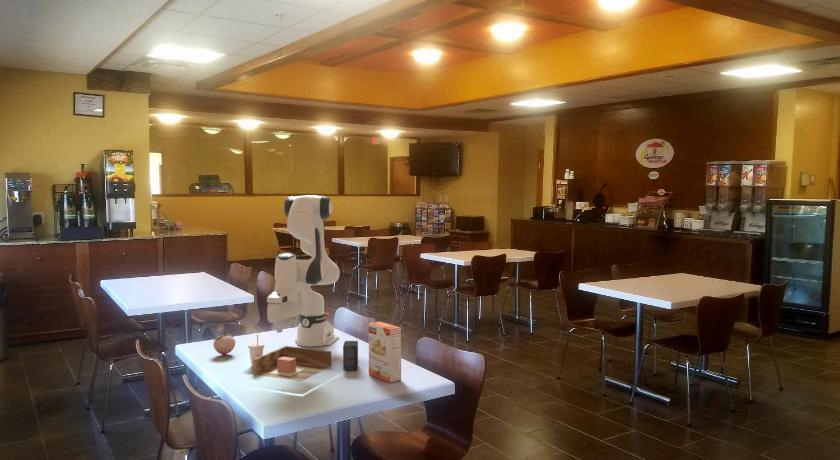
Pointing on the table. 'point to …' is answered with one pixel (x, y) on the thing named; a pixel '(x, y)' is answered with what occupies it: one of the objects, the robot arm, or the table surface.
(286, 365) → the block
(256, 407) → the table surface
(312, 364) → the arena
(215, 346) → the decorative fruit
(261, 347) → the smoothie
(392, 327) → the cracker box
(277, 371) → the pad
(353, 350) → the box
